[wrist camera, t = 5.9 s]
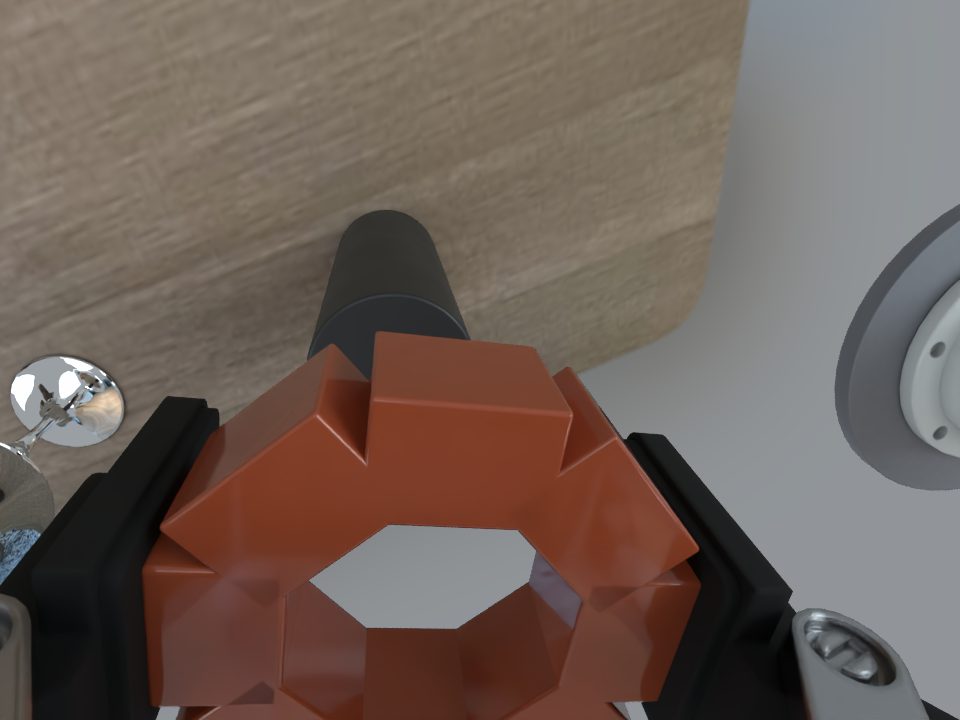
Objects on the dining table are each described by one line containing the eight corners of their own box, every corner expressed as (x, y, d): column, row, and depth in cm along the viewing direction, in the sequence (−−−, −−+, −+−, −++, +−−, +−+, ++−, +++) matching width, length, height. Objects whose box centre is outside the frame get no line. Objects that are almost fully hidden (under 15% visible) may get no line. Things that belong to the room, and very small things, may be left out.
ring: (687, 361, 9) (766, 429, 7) (583, 692, 11) (620, 807, 9) (187, 309, 7) (121, 375, 6) (197, 696, 10) (152, 829, 8)
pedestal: (442, 216, 25) (489, 303, 14) (429, 310, 27) (463, 452, 16) (341, 203, 24) (310, 283, 14) (334, 300, 26) (301, 442, 15)
